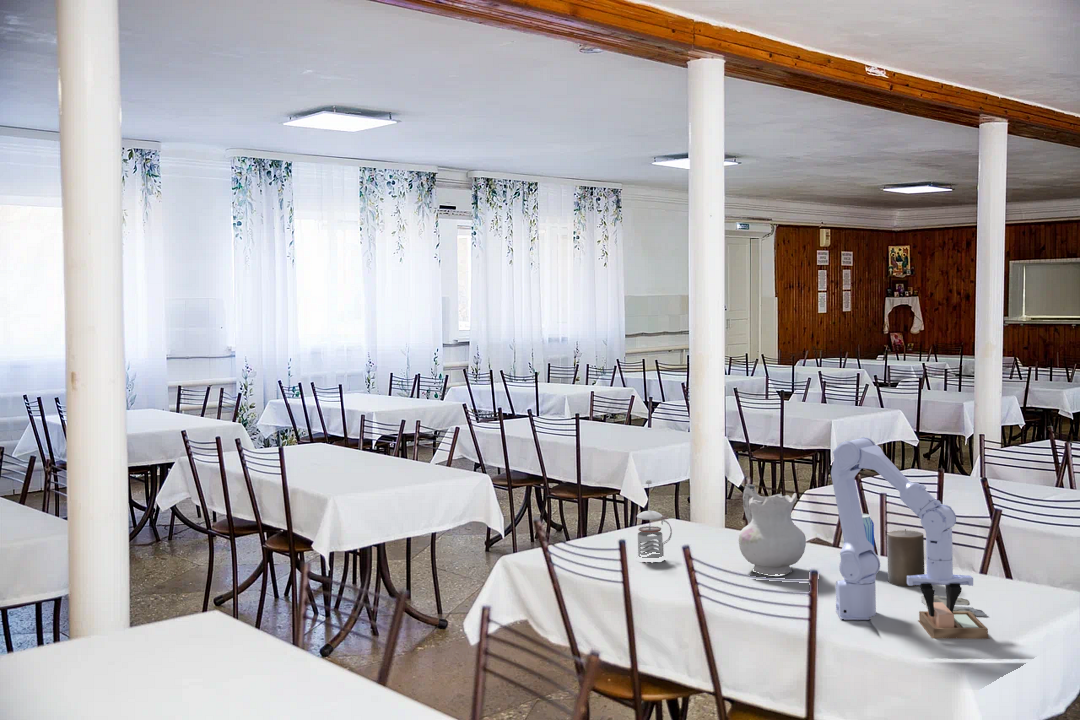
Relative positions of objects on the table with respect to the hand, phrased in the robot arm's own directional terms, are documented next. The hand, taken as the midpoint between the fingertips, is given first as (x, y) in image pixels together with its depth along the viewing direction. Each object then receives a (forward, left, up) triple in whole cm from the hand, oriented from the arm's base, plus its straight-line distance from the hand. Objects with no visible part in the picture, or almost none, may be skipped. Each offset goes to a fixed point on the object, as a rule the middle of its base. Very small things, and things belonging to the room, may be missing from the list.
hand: (940, 615), depth 241 cm
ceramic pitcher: (-34, +58, -4) cm, 67 cm away
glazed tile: (+5, 0, -3) cm, 6 cm away
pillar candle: (+2, +45, -4) cm, 45 cm away
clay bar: (0, 0, -3) cm, 3 cm away
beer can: (-8, +59, -4) cm, 60 cm away
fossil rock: (+8, +19, -5) cm, 21 cm away
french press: (-68, +72, -4) cm, 99 cm away
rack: (+3, 0, -4) cm, 5 cm away
